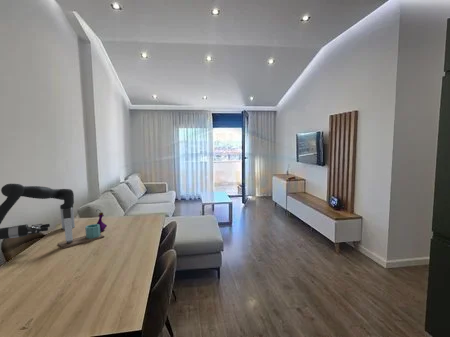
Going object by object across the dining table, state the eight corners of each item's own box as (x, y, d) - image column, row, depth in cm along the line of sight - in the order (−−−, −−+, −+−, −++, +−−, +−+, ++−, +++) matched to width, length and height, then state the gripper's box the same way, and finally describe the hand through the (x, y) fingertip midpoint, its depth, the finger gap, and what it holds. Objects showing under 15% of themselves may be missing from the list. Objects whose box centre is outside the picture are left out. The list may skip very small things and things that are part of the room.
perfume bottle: (107, 229, 211) (105, 207, 209) (102, 232, 203) (100, 210, 202) (98, 229, 212) (97, 207, 210) (93, 232, 204) (91, 210, 202)
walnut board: (58, 244, 180) (57, 243, 180) (97, 233, 200) (97, 232, 200) (63, 248, 172) (63, 247, 172) (104, 237, 192) (104, 236, 192)
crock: (84, 236, 192) (83, 226, 191) (97, 233, 198) (96, 223, 198) (89, 239, 186) (88, 228, 185) (102, 235, 192) (101, 225, 192)
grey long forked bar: (66, 242, 181) (63, 209, 178) (73, 241, 183) (70, 208, 180) (65, 244, 178) (62, 210, 175) (73, 243, 180) (70, 209, 177)
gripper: (15, 228, 159) (46, 224, 167) (20, 222, 172) (49, 219, 180) (16, 240, 160) (47, 235, 168) (21, 233, 173) (50, 229, 180)
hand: (48, 227), depth 174 cm, fingers open, 8 cm apart
